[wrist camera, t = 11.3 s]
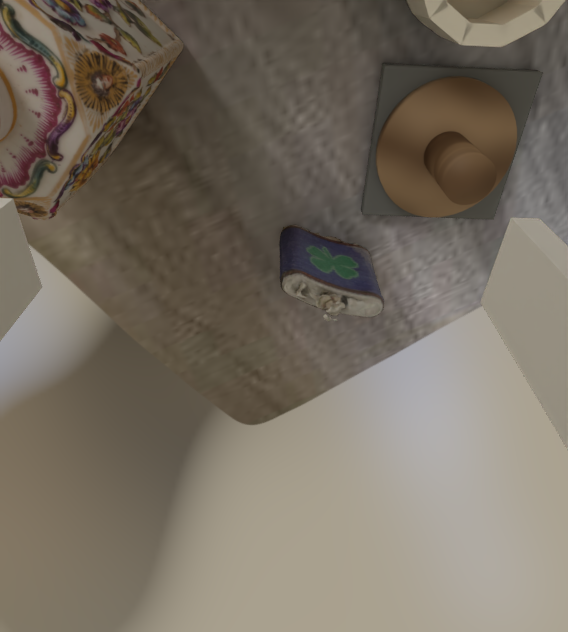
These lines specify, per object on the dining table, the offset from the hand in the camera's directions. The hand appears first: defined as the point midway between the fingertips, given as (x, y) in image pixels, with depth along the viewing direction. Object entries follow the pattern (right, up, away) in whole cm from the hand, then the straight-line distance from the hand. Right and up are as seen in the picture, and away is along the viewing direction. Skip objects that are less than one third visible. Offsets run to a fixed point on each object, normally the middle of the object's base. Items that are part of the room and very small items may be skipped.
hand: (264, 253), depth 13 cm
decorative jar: (-15, +19, +22) cm, 33 cm away
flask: (+4, +5, +32) cm, 33 cm away
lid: (+14, +12, +25) cm, 31 cm away
